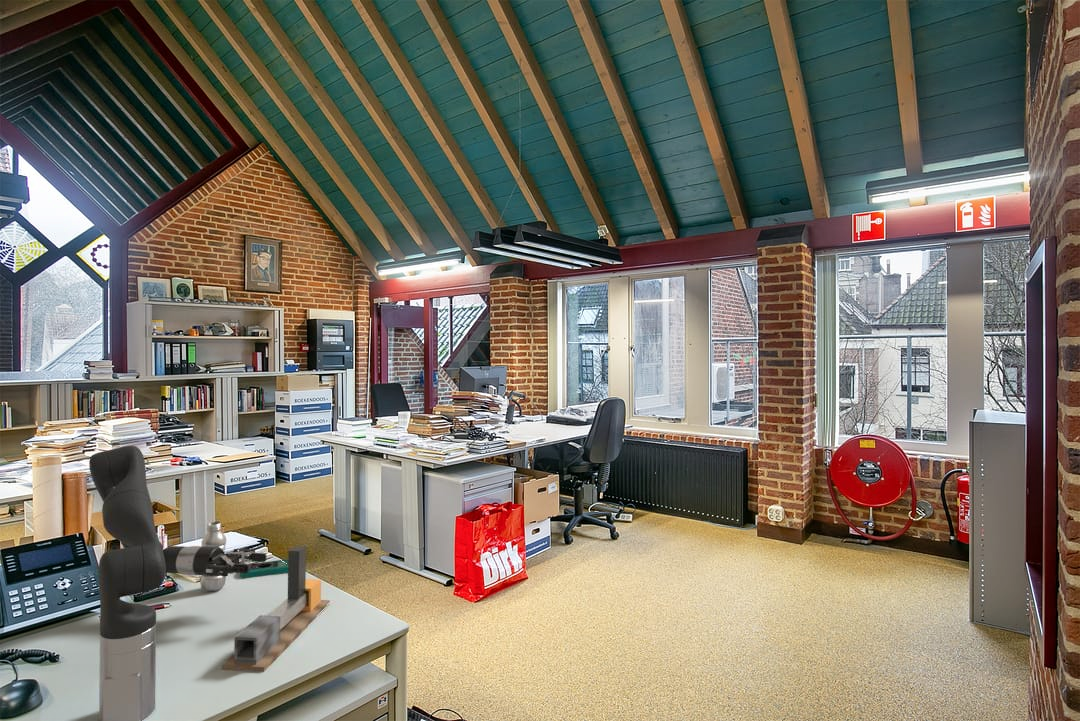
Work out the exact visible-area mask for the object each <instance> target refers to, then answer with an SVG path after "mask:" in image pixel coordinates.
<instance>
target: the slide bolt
mask: <svg viewBox="0 0 1080 721" xmlns="http://www.w3.org/2000/svg"><path fill="white" fill-rule="evenodd" d="M287 552H288V553H287V555H288V556H287V559H288V573H287V599H284V601H283V602H282V603H280V605H278V606H277V607H276V608H274V609H273V610H272V611H271V612H270V613H269V614H268V615H267V616H280V630H281V629H282V628H283V627H284V626H285V625H286V624H287V623H288V622H289V621H290V620H291V619H292V618H294V617H295V616H296V615H297V614H298V613H299V612H300V611H301V610H302V609H303V608H304V607H305V606H306V605H307V604H308V603H309V591H305V584H306V579H307V577H306V576H307V575H306V574H307V573H306V569H307V546H305V545H294V546H293V547H291V548H290V549H288V551H287Z"/></svg>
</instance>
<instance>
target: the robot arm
mask: <svg viewBox="0 0 1080 721" xmlns="http://www.w3.org/2000/svg"><path fill="white" fill-rule="evenodd" d="M89 457H90V458H89V463H88V465H89V466H88V467H89V472H90V477H91V479H92V482H93V483H94V486H95V488H96V490H97V493H98V495H99V496H100V498H101V500H102V502H103V503H102V508H101V512H102V523H103V527H104V530H105V531H106V532H107V533H108V534H109V535H110V536H111V537H112V538H114V539H115V540H118V542H120V544H121V545H122V548H116V549H112V550H111V549H110V550H106V551H105V552H104V553H103V554H102V555H101V557H100V558H99V562H98V592H99V606H100V614H99V617H100V621H99V682H98V683H99V684H98V688H99V690H98V691H99V692H98V694H99V697H98V702H99V703H98V704H99V705H98V706H99V708H98V709H99V712H98V713H99V714H98V715H99V717H98V719H99V720H98V721H142V720H144V719H145V718H147V717H148V716H150V715H151V714H152V713H153V712H154V710H155V709H156V675H157V674H156V673H157V672H156V666H157V664H156V663H157V662H156V660H157V658H156V657H157V652H156V651H157V649H156V648H157V644H156V643H157V612H156V609H155V608H154V607H152V606H150V605H146V604H140V603H139V604H138V603H134V602H128V601H124V600H123V599H121V598H123V597H129V596H134V595H137V594H138V595H139V594H144V593H148V592H152V591H154V590H157V589H159V588H160V587H161V586H162V584H164V581H165V577H166V574H181V575H187V576H202V575H203V576H224V577H228V576H229V575H234V574H240V573H248V572H249V571H250V565H249V564H250V563H251V562H253V563H261V562H267V557H268V556H267V553H265V552H256V549H255V548H234V549H233V551H229V552H226V553H225V552H223V550H222V549H221V548H220V547H208V546H202V545H191V546H181V545H180V546H179V545H178V546H177V545H172V546H167V547H165V548H164V547H163V544H162V542H160V539H159V537H158V534H157V530H156V524H155V517H154V509H153V506H152V501H151V497H150V492H149V490H148V484H147V471H146V469H147V468H146V462H145V458H144V455H143V453H142V451H141V449H140V448H139V447H138V446H135V445H126V446H125V445H124V446H121V447H117V448H116V447H115V448H113V449H108V450H104V451H100V452H97V453H94V454H92V455H91V456H89ZM248 562H249V563H248ZM220 571H221V572H223V573H221V572H220Z"/></svg>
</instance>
